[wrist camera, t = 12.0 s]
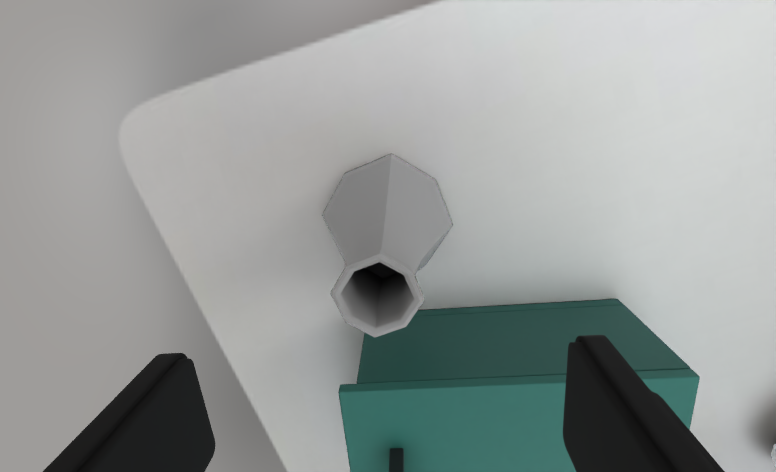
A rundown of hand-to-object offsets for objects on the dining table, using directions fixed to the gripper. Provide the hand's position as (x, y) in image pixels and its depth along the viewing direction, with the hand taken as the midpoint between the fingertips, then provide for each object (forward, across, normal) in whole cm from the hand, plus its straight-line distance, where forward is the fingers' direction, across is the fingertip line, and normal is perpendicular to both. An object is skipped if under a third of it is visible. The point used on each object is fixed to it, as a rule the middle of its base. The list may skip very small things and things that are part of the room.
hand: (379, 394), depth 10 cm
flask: (+15, 0, 0) cm, 15 cm away
